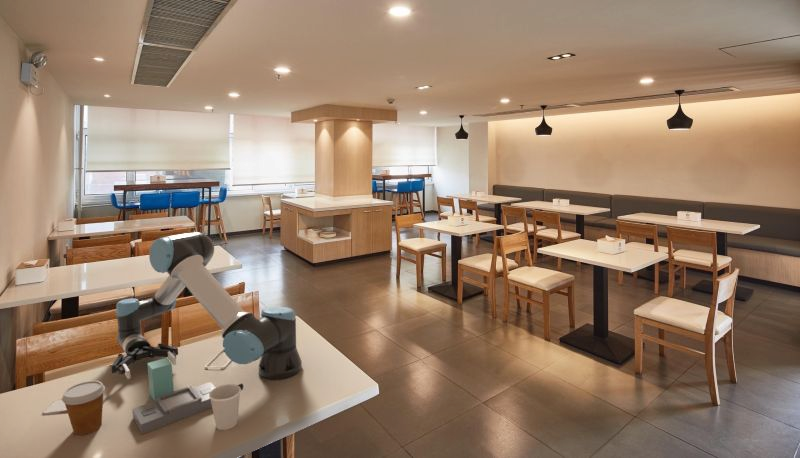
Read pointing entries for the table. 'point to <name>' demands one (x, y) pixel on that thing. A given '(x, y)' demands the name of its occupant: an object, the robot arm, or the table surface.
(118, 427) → the table surface
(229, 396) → the dixie cup
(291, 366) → the robot arm
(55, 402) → the smartphone
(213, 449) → the table surface
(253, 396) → the table surface
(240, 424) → the table surface
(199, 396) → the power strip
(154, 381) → the teal tall block
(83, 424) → the disposable coffee cup
